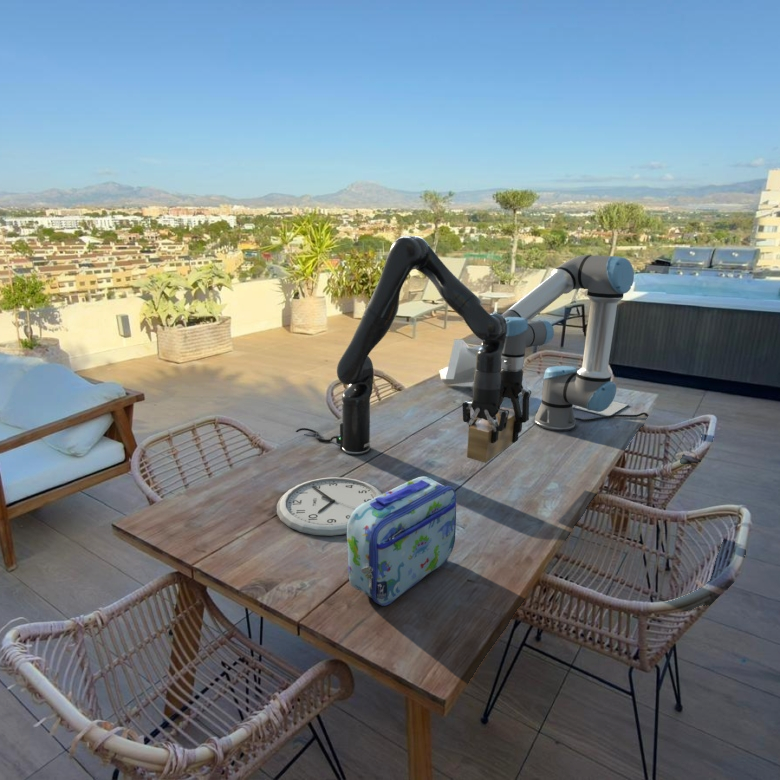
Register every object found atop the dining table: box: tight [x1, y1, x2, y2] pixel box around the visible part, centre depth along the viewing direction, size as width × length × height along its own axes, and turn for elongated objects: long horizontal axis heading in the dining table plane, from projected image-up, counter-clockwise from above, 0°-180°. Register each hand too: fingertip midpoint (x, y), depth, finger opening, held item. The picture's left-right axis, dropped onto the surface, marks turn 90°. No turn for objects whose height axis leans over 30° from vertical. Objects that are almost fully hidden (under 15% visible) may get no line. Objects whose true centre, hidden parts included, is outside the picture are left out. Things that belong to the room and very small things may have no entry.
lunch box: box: [346, 475, 457, 607], centre depth 111 cm, size 26×11×21 cm, turn 134°
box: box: [466, 406, 516, 464], centre depth 159 cm, size 22×6×10 cm, turn 143°
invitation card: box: [573, 400, 629, 417], centre depth 226 cm, size 21×1×15 cm
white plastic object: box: [438, 310, 529, 391], centre depth 245 cm, size 37×45×31 cm
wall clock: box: [276, 476, 384, 537], centre depth 142 cm, size 30×2×30 cm
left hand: (482, 439), depth 153 cm, fingers closed on box, 6 cm apart
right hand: (504, 438), depth 166 cm, fingers closed on box, 6 cm apart
